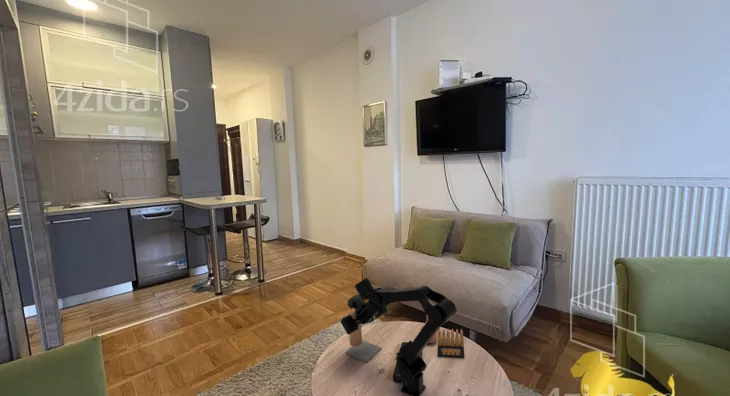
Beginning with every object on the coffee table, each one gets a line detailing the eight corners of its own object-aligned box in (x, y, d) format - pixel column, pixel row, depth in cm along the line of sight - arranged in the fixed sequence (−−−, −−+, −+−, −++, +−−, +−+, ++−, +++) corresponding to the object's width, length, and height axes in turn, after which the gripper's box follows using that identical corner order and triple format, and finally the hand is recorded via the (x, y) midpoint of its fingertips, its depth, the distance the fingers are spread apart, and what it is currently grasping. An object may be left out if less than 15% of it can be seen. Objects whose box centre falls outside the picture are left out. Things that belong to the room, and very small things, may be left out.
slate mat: (381, 349, 130) (381, 347, 130) (366, 362, 121) (366, 361, 121) (361, 341, 137) (361, 339, 137) (345, 353, 128) (345, 352, 128)
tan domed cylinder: (364, 342, 125) (363, 312, 124) (354, 347, 122) (353, 317, 121) (356, 337, 129) (355, 308, 128) (347, 342, 126) (345, 312, 125)
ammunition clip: (437, 357, 123) (437, 329, 122) (437, 354, 125) (436, 326, 124) (464, 358, 122) (464, 330, 121) (463, 355, 123) (463, 328, 122)
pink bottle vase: (432, 335, 139) (432, 310, 138) (440, 344, 132) (440, 318, 131) (417, 338, 137) (416, 313, 136) (424, 347, 130) (424, 321, 129)
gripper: (375, 284, 127) (358, 302, 136) (342, 298, 114) (326, 317, 123) (390, 307, 123) (372, 324, 131) (357, 325, 109) (339, 343, 118)
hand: (352, 326), depth 126 cm, fingers closed on tan domed cylinder, 5 cm apart
